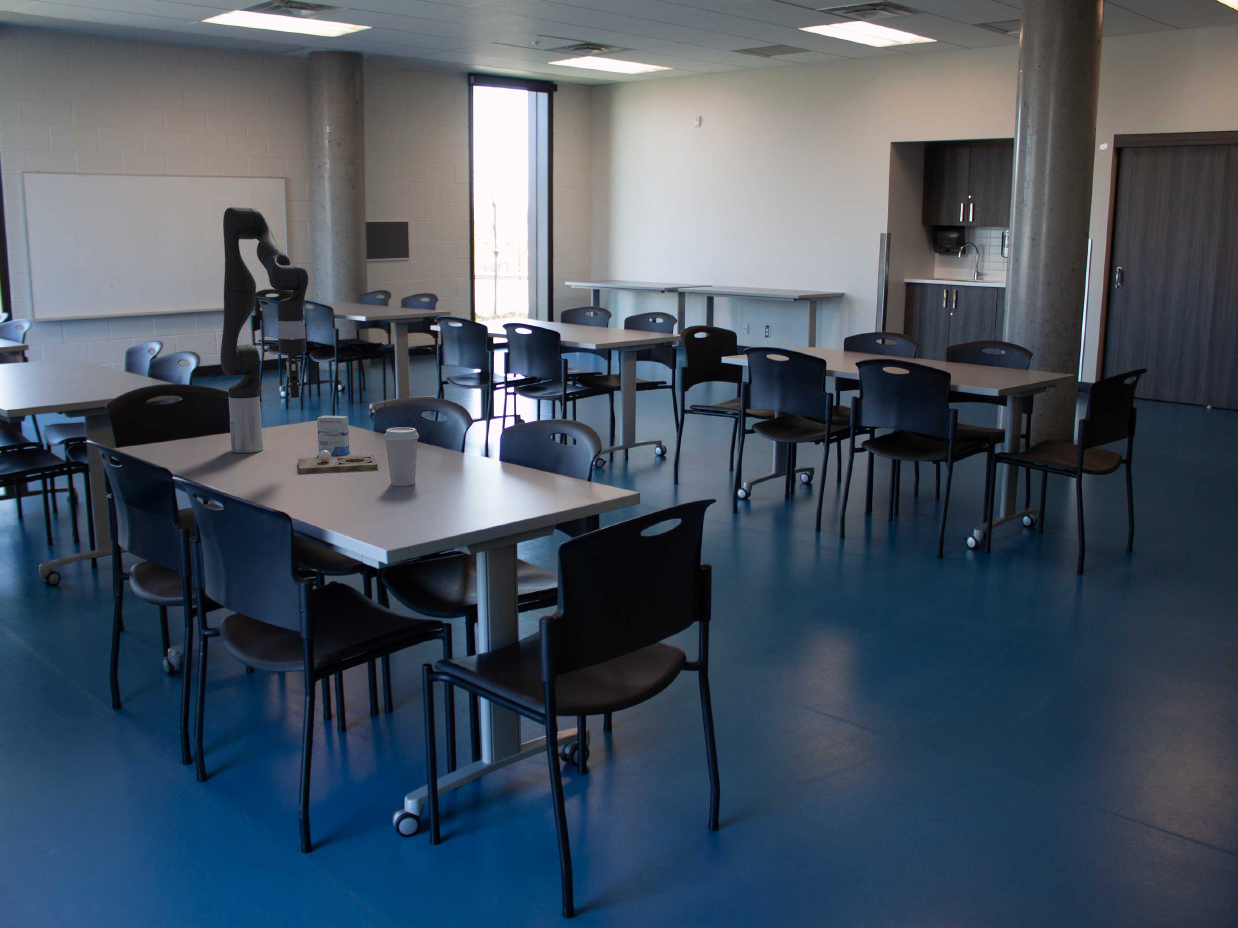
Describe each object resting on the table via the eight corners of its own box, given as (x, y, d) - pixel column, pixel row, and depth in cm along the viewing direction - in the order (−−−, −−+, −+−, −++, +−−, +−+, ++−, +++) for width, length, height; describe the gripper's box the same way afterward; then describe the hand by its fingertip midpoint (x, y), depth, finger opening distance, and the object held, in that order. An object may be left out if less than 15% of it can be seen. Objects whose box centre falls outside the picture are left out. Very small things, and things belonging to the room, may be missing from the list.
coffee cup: (427, 481, 301) (425, 428, 298) (409, 488, 292) (407, 433, 289) (396, 478, 304) (394, 426, 301) (378, 485, 295) (376, 431, 292)
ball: (319, 463, 317) (318, 451, 316) (318, 461, 320) (318, 449, 319) (331, 462, 318) (330, 451, 317) (331, 460, 321) (330, 449, 320)
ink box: (350, 452, 341) (348, 415, 339) (344, 455, 337) (343, 418, 334) (323, 452, 342) (322, 415, 340) (318, 454, 338) (316, 417, 335)
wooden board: (299, 473, 310) (298, 468, 310) (298, 463, 324) (298, 458, 324) (377, 469, 316) (377, 464, 316) (373, 459, 330) (373, 454, 330)
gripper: (278, 334, 315) (281, 393, 318) (278, 339, 302) (281, 400, 305) (305, 334, 317) (307, 392, 321) (306, 338, 304) (309, 399, 307)
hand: (295, 396), depth 313 cm, fingers open, 4 cm apart
